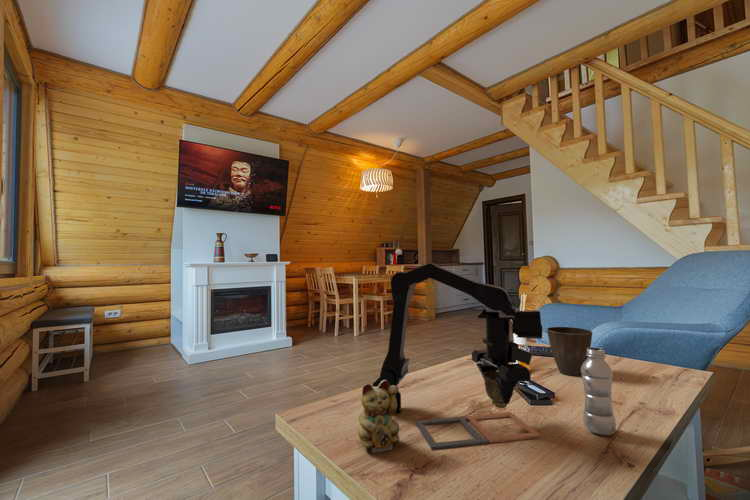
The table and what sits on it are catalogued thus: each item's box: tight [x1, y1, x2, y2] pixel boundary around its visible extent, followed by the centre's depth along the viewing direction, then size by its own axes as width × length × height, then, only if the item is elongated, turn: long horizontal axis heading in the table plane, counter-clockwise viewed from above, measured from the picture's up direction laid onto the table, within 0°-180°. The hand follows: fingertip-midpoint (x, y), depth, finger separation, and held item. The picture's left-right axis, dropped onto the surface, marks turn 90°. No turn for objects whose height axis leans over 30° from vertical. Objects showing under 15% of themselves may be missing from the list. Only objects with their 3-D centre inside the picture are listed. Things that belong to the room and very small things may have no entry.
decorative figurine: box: [357, 380, 401, 454], centre depth 78 cm, size 10×8×15 cm
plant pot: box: [546, 326, 593, 377], centre depth 127 cm, size 15×15×16 cm
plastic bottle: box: [581, 347, 617, 436], centre depth 83 cm, size 6×7×20 cm
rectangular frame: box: [415, 411, 542, 451], centre depth 84 cm, size 27×13×1 cm, turn 99°
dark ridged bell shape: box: [483, 370, 514, 409], centre depth 86 cm, size 8×7×8 cm
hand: (499, 398), depth 86 cm, fingers closed on dark ridged bell shape, 6 cm apart
